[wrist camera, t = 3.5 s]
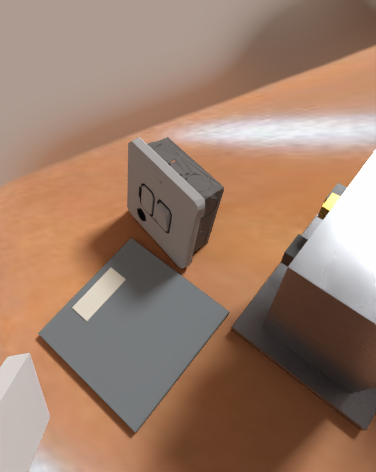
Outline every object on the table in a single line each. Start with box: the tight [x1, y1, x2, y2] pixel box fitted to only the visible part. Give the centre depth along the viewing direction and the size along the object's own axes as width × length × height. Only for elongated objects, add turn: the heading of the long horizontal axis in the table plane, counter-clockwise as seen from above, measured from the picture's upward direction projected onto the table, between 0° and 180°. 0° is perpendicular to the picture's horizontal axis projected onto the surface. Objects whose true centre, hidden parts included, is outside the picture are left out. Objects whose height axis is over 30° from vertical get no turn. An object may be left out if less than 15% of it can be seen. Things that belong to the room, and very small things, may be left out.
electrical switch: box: [127, 137, 224, 269], centre depth 33 cm, size 9×5×9 cm, turn 40°
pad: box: [38, 238, 229, 432], centre depth 32 cm, size 12×12×1 cm
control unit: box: [231, 150, 376, 430], centre depth 25 cm, size 14×12×14 cm
